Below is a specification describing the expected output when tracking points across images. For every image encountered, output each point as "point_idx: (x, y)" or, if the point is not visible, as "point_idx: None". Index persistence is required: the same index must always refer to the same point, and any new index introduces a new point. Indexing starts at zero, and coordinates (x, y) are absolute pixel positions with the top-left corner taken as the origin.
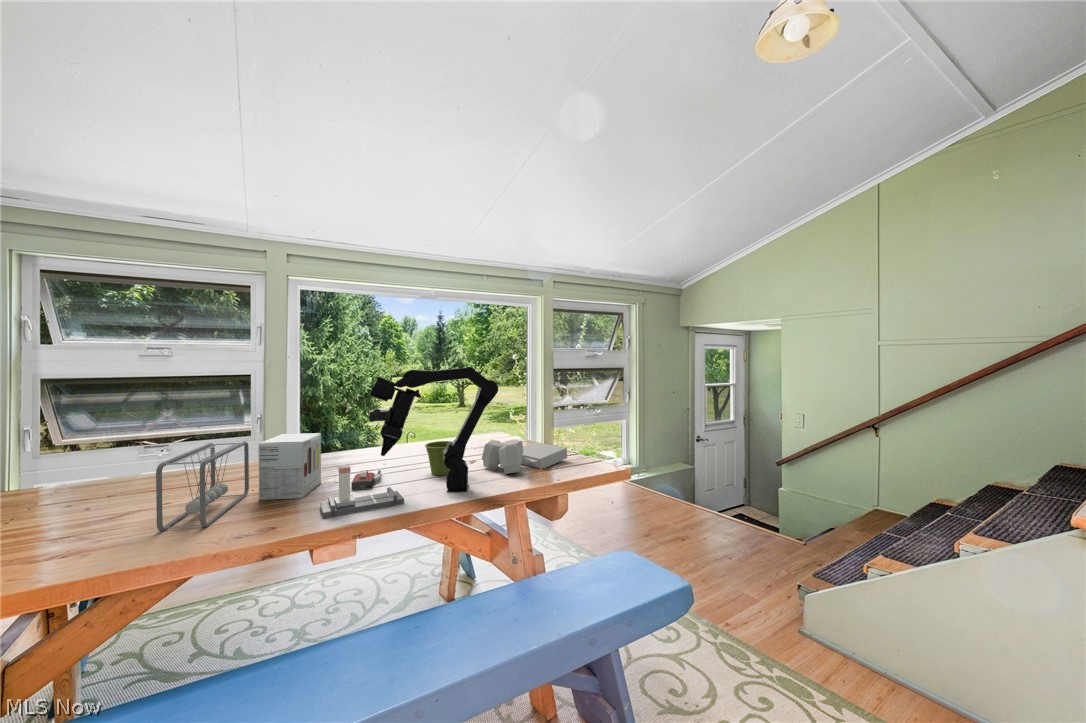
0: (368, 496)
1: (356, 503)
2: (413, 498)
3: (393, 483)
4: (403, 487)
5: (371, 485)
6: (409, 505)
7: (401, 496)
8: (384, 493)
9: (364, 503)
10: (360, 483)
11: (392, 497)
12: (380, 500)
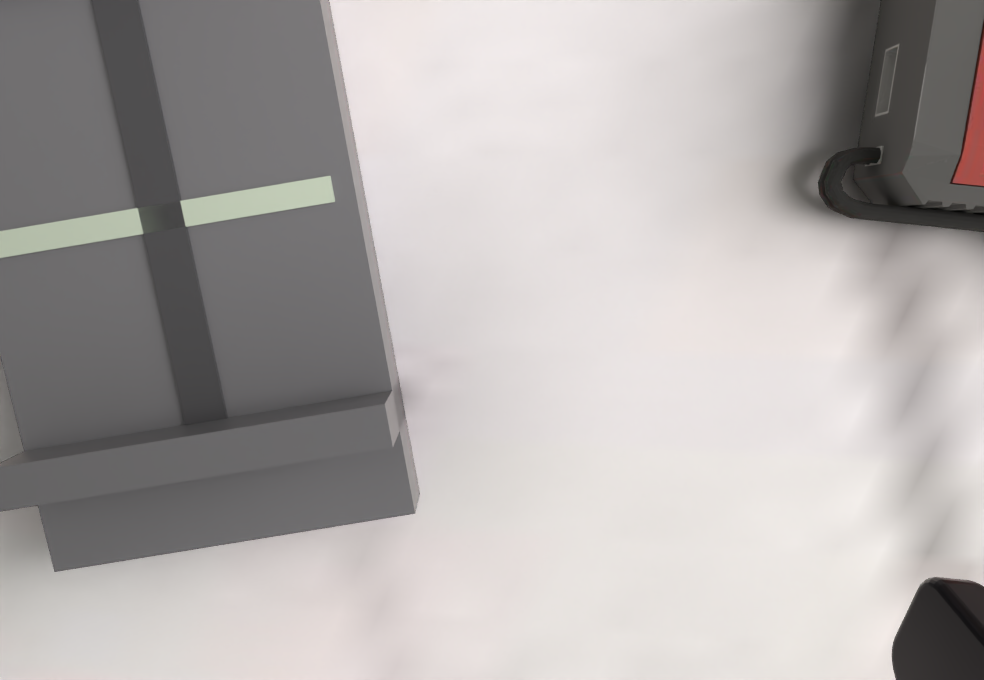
0: (302, 156)
1: (53, 6)
2: (236, 658)
3: (957, 479)
4: (720, 584)
5: (836, 199)
6: (5, 597)
7: (151, 549)
8: (355, 357)
9: (21, 106)
10: (913, 41)
11: (68, 447)
12: (78, 301)
